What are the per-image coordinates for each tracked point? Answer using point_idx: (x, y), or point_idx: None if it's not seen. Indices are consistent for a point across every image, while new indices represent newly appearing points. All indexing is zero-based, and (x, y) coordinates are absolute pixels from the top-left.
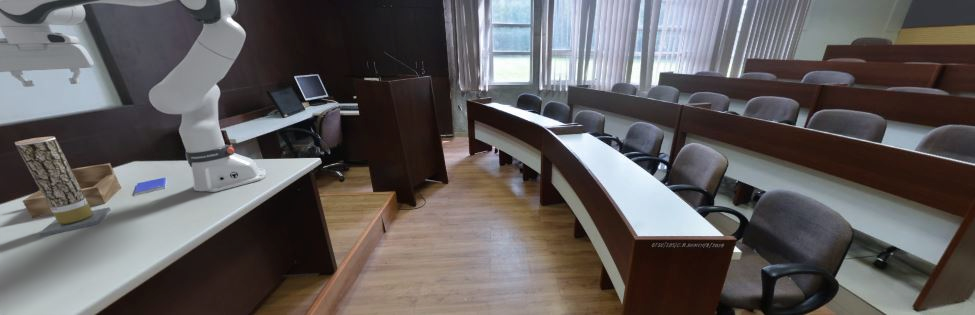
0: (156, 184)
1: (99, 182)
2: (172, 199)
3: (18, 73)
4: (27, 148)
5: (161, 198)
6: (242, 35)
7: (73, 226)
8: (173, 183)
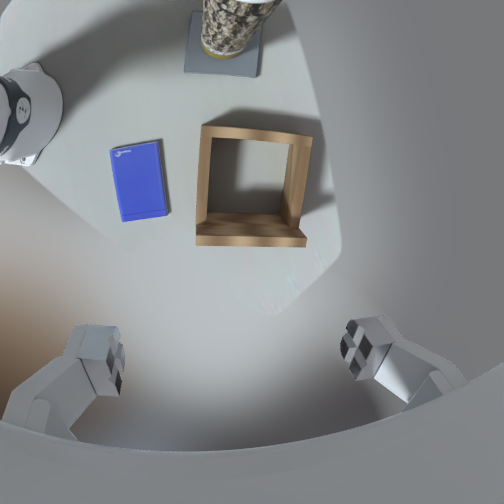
0: (126, 174)
1: (207, 168)
2: (92, 63)
3: (435, 382)
4: None
5: (109, 82)
6: None
7: None
8: (103, 176)
